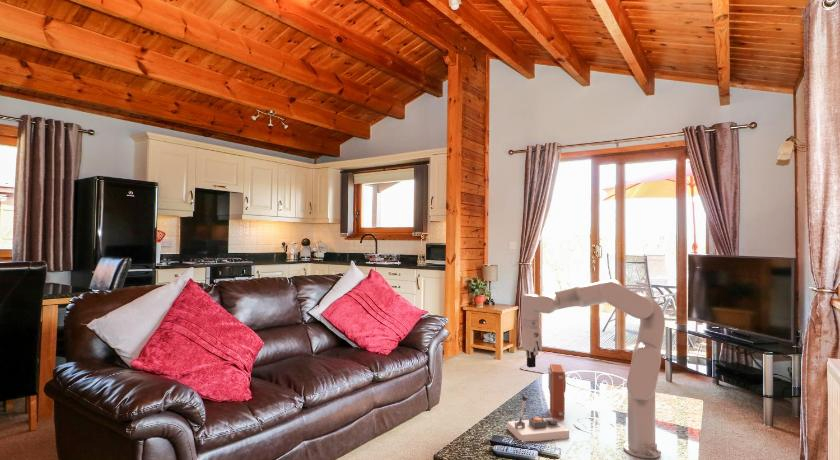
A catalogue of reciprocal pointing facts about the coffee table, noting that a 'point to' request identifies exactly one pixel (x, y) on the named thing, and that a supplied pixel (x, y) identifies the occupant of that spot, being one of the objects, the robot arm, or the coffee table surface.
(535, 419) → the push button
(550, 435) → the switch board
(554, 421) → the rocker switch
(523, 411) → the toggle lever
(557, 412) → the control panel
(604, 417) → the coffee table surface
